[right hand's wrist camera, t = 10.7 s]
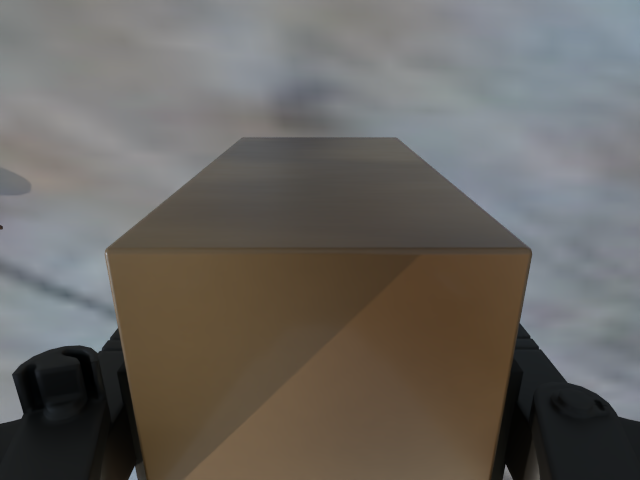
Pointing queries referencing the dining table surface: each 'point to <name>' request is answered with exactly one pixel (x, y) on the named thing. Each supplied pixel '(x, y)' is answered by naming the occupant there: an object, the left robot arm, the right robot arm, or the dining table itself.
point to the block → (318, 318)
